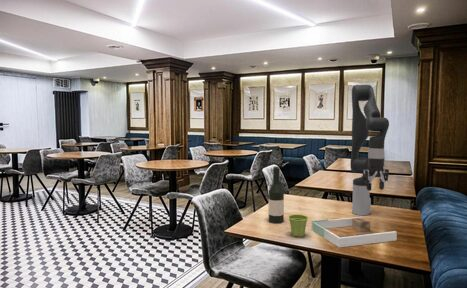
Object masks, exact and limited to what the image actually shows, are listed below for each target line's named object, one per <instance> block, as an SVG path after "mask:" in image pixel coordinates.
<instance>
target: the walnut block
mask: <svg viewBox="0 0 467 288" xmlns="http://www.w3.org/2000/svg"><path fill="white" fill-rule="evenodd" d="M351 228H352V229H353V230H355V231H357V232H359V233H364V232H365V233H366V232H370V231H371V221H370V220H368V219H366V218H364V217H363V218H356V219H352V226H351Z"/></svg>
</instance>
